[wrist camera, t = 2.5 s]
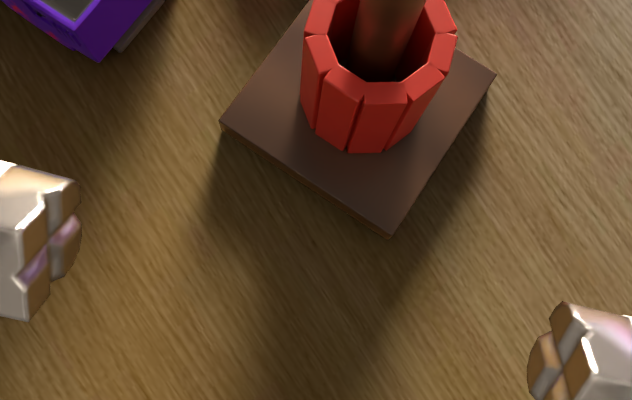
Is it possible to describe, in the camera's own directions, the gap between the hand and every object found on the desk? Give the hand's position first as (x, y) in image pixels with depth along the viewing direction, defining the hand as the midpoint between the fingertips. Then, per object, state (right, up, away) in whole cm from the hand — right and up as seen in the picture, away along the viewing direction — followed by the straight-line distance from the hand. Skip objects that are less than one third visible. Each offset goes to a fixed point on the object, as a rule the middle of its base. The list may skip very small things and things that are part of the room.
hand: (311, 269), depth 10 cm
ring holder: (+2, +6, +24) cm, 25 cm away
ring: (+2, +7, +22) cm, 23 cm away
